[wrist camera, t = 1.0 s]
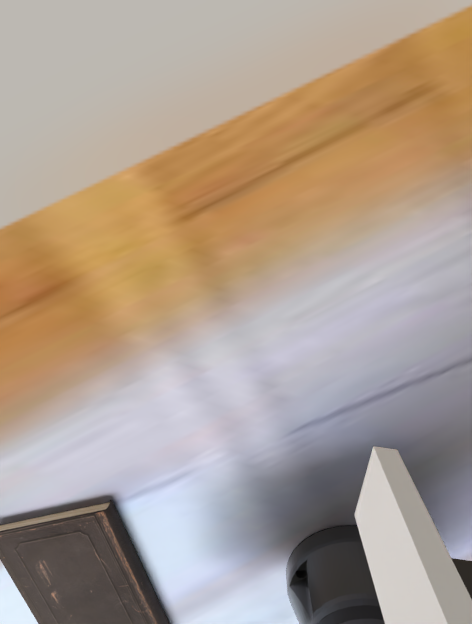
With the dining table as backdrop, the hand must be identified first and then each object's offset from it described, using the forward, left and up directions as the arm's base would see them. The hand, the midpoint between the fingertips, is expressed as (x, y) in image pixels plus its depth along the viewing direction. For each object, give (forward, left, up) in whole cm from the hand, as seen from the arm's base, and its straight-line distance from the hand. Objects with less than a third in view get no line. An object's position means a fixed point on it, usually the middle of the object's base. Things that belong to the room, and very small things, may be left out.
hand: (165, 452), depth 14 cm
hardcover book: (-33, +33, -31) cm, 56 cm away
